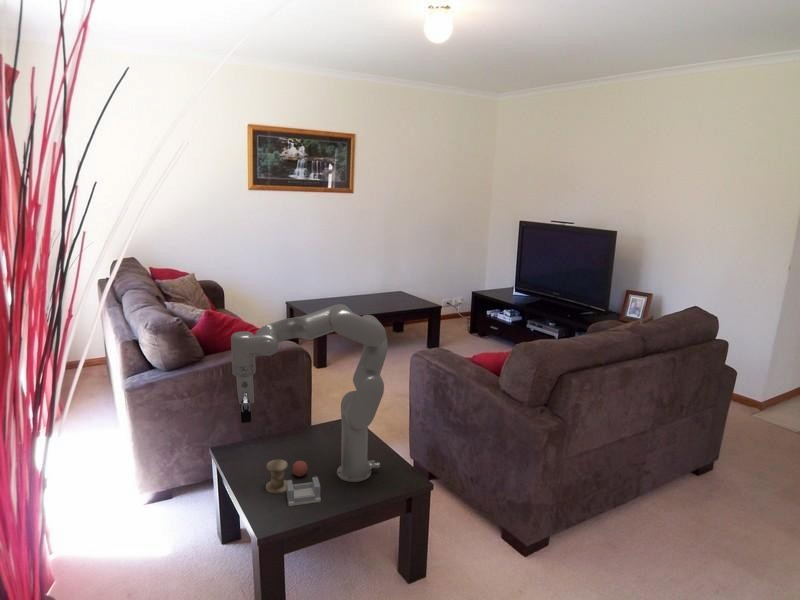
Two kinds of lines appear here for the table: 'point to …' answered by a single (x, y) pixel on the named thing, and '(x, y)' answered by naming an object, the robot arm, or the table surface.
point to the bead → (300, 468)
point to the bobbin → (276, 476)
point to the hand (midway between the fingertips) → (245, 416)
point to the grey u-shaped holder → (303, 492)
